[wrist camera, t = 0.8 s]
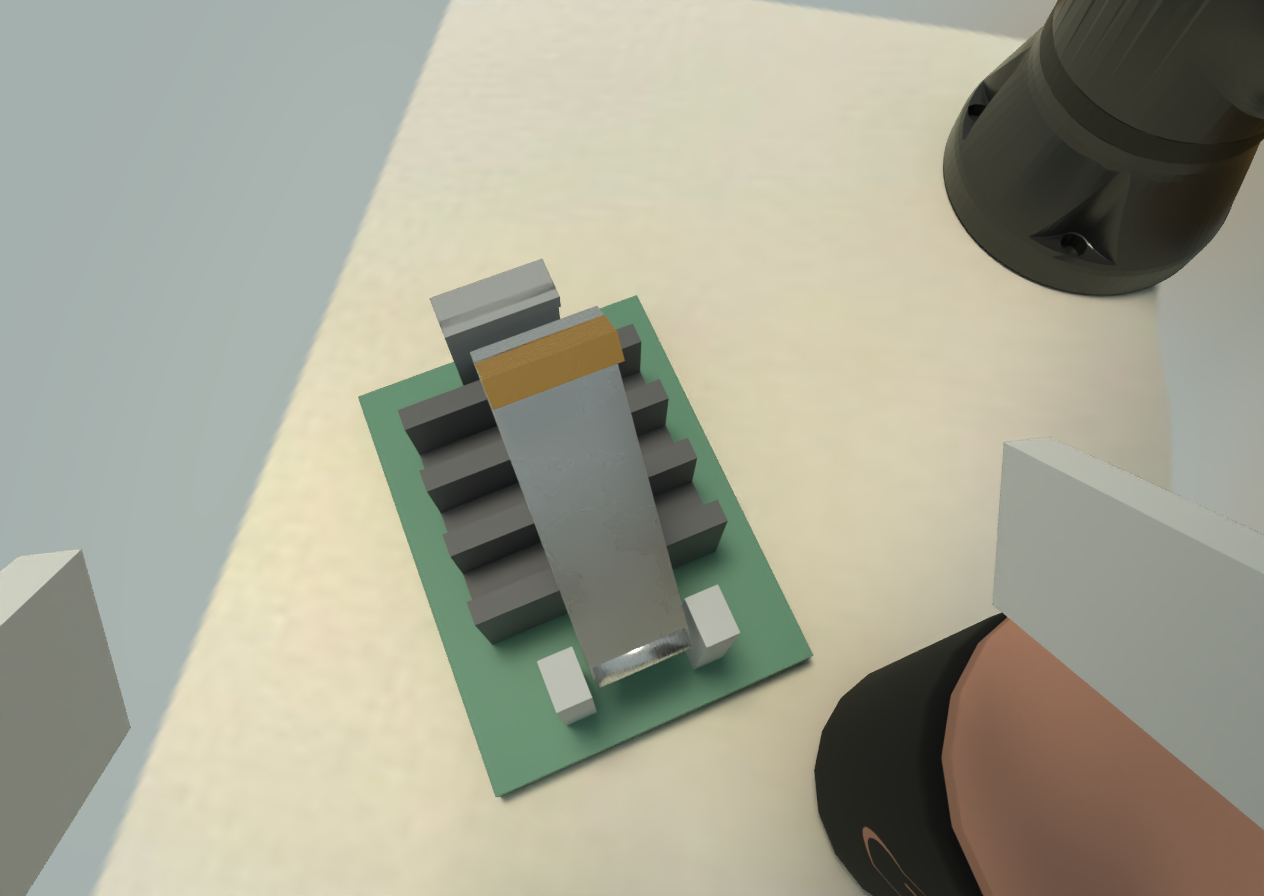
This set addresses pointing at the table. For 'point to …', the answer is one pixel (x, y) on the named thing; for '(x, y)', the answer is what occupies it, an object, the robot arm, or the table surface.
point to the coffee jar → (1017, 784)
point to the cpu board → (515, 663)
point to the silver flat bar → (587, 488)
